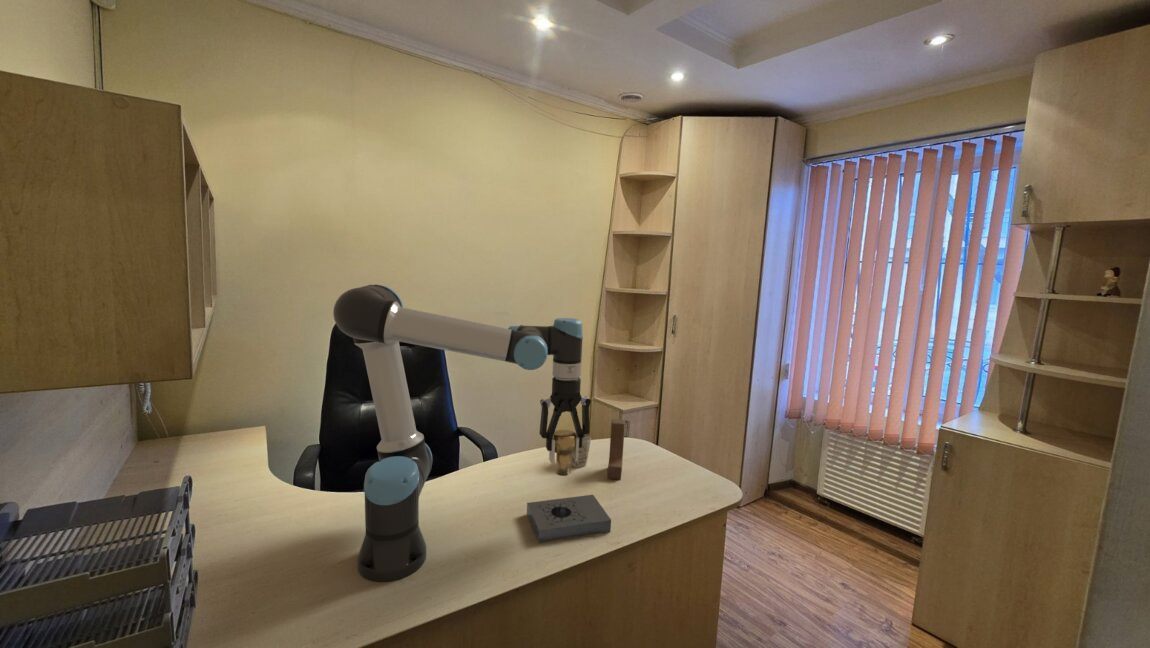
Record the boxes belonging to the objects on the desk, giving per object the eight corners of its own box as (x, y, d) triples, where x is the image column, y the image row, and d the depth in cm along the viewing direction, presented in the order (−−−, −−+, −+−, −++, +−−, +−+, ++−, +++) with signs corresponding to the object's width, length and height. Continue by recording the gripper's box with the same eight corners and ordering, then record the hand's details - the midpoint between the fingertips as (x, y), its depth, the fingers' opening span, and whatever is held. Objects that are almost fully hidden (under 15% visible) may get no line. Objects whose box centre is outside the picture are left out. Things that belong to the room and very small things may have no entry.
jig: (538, 543, 120) (538, 530, 120) (526, 514, 133) (527, 502, 133) (610, 531, 127) (611, 519, 126) (592, 505, 140) (592, 494, 139)
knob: (555, 478, 123) (556, 439, 122) (549, 468, 129) (550, 430, 127) (577, 476, 125) (578, 437, 124) (570, 466, 131) (571, 429, 129)
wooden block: (620, 480, 157) (623, 428, 154) (607, 478, 157) (610, 427, 155) (622, 468, 165) (625, 419, 163) (609, 467, 166) (612, 418, 164)
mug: (564, 467, 164) (565, 440, 163) (570, 453, 177) (571, 427, 175) (587, 470, 163) (589, 442, 162) (592, 455, 175) (593, 430, 174)
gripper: (534, 382, 117) (532, 470, 120) (605, 379, 123) (601, 462, 126) (528, 375, 124) (526, 457, 127) (595, 372, 130) (591, 451, 133)
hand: (563, 460), depth 127 cm, fingers closed on knob, 6 cm apart
